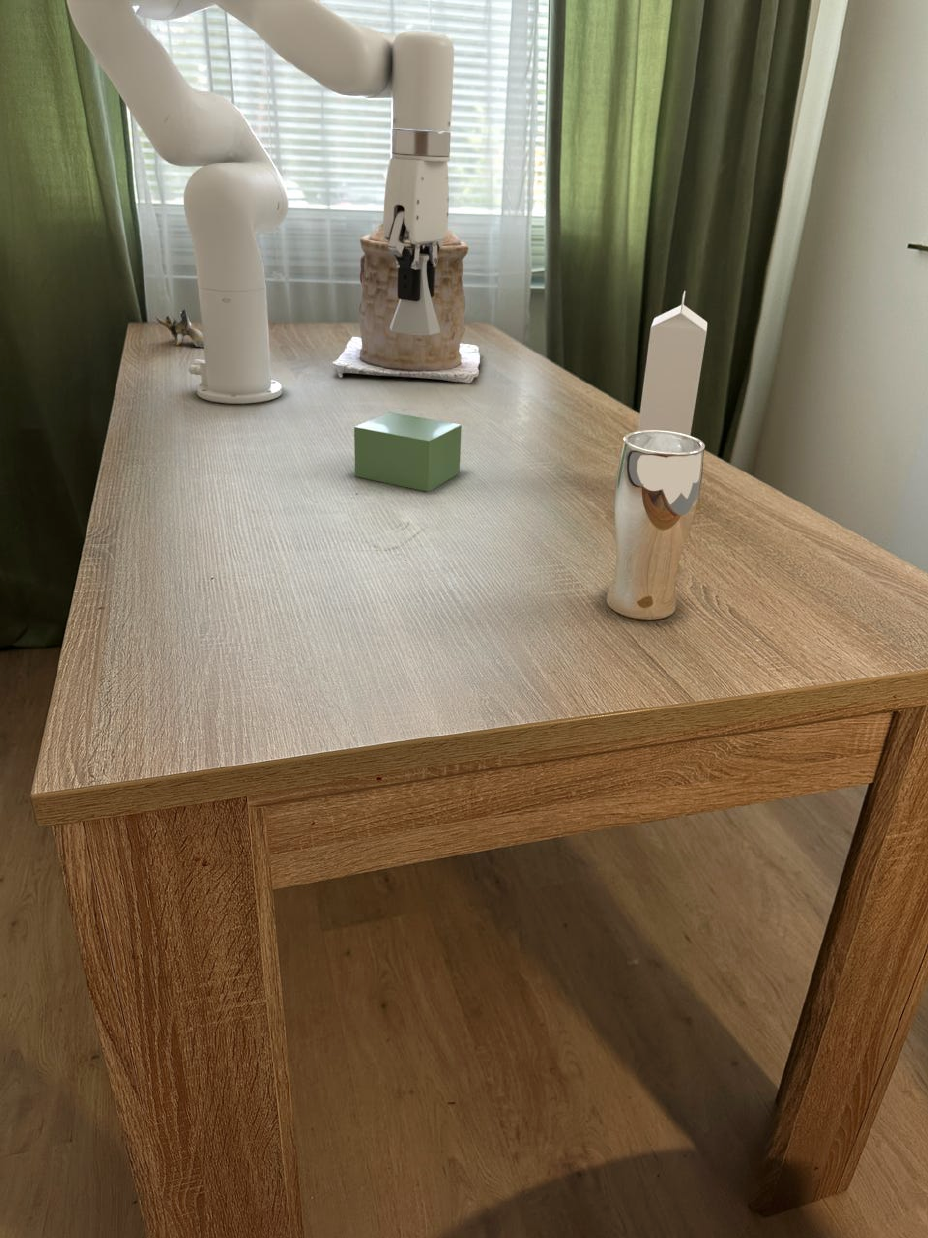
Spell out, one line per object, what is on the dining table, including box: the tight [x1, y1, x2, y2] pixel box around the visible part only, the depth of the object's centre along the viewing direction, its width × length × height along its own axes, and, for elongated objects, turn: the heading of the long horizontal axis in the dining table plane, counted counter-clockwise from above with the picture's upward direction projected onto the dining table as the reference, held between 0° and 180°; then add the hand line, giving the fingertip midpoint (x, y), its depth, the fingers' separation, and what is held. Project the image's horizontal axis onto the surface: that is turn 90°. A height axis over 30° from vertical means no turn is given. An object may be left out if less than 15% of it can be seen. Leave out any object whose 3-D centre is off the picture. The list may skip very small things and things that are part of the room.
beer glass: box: [606, 430, 706, 621], centre depth 79 cm, size 7×7×15 cm
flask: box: [390, 253, 440, 335], centre depth 125 cm, size 7×7×10 cm
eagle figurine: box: [155, 308, 204, 349], centre depth 170 cm, size 8×7×9 cm
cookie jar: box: [332, 222, 482, 384], centre depth 155 cm, size 25×25×32 cm
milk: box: [637, 290, 708, 436], centre depth 106 cm, size 6×6×22 cm
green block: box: [353, 411, 463, 493], centre depth 109 cm, size 10×8×6 cm
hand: (416, 296), depth 126 cm, fingers closed on flask, 3 cm apart
